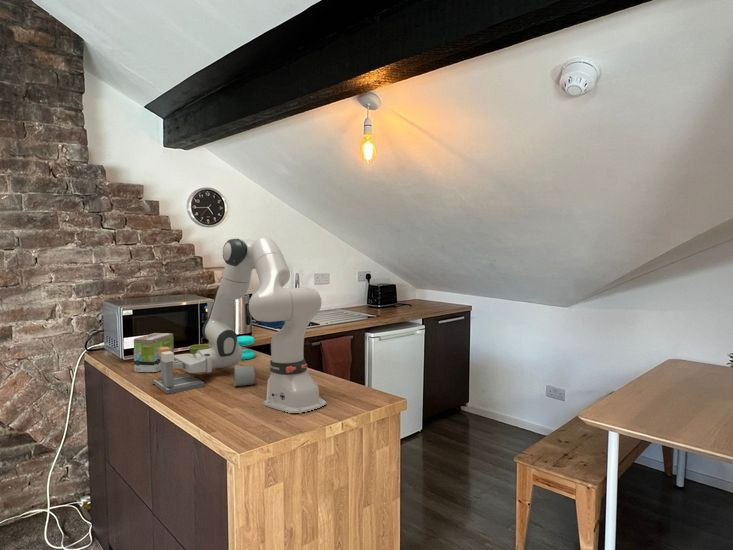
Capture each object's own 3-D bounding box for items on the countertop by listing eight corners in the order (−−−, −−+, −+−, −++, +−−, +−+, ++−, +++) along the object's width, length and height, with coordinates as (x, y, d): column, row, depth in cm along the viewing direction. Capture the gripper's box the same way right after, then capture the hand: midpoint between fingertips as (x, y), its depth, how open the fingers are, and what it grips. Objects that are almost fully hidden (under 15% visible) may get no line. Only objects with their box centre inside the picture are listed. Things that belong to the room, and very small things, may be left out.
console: (204, 386, 183) (204, 382, 183) (166, 394, 174) (166, 390, 174) (187, 376, 197) (187, 373, 197) (151, 383, 188) (151, 379, 188)
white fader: (175, 386, 178) (173, 353, 177) (166, 387, 176) (164, 354, 175) (171, 383, 181) (169, 351, 180) (162, 385, 179) (161, 352, 178)
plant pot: (187, 364, 218) (186, 345, 217) (209, 361, 222) (208, 343, 221) (190, 369, 209) (189, 349, 209) (212, 366, 214) (212, 347, 213)
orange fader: (171, 380, 186) (170, 348, 185) (163, 381, 184) (161, 349, 183) (167, 377, 189) (166, 346, 188) (159, 379, 187) (158, 347, 186)
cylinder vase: (228, 347, 252) (226, 300, 250) (238, 351, 242) (237, 302, 241) (205, 351, 244) (203, 302, 242) (214, 355, 234) (213, 304, 233)
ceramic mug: (257, 386, 183) (256, 366, 183) (235, 388, 180) (234, 368, 180) (253, 379, 193) (253, 360, 193) (232, 381, 190) (232, 362, 190)
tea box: (155, 373, 203) (153, 339, 202) (133, 373, 204) (132, 338, 203) (175, 364, 217) (173, 332, 216) (154, 364, 219) (153, 332, 218)
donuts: (258, 336, 229) (241, 340, 221) (259, 357, 229) (242, 361, 222) (245, 334, 235) (228, 337, 227) (245, 354, 235) (229, 358, 228)
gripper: (193, 348, 204) (159, 353, 195) (212, 357, 188) (176, 363, 179) (194, 363, 204) (160, 369, 195) (213, 372, 189) (177, 379, 180)
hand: (168, 366), depth 187 cm, fingers closed, pressing on orange fader
